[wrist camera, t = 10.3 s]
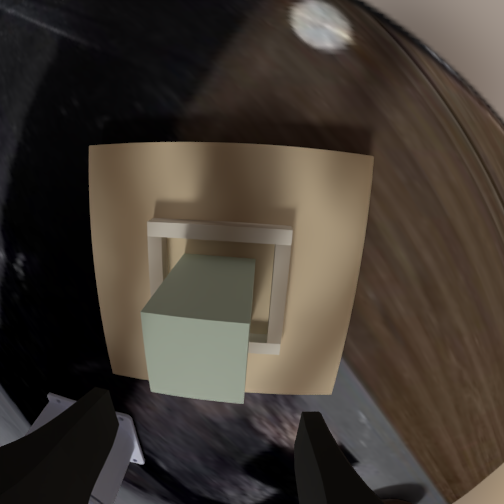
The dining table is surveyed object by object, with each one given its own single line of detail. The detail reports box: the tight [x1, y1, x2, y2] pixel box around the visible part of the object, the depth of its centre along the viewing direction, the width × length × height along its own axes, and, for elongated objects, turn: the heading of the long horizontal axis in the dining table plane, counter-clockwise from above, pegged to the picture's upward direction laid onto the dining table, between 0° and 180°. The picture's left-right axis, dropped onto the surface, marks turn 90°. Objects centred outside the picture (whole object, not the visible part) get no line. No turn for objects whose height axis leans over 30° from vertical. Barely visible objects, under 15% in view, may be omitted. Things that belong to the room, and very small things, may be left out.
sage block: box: [140, 253, 256, 404], centre depth 15 cm, size 4×4×7 cm
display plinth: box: [89, 142, 374, 395], centre depth 18 cm, size 16×16×2 cm
